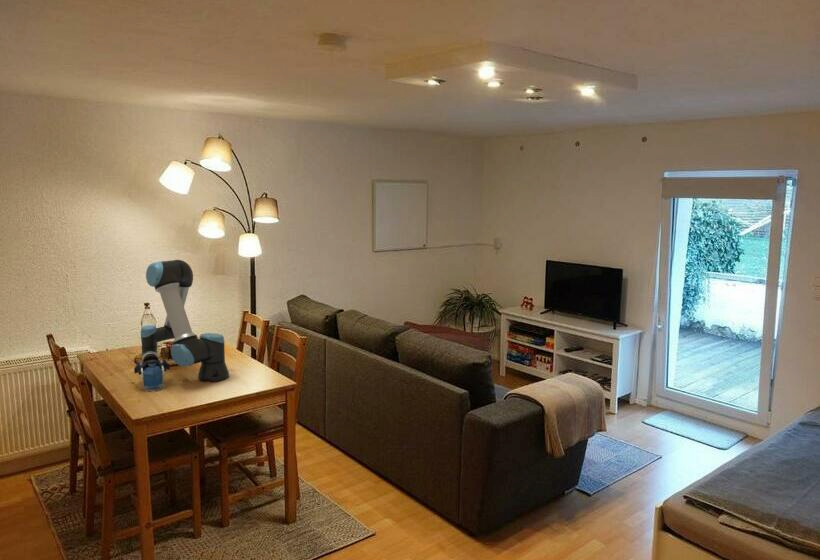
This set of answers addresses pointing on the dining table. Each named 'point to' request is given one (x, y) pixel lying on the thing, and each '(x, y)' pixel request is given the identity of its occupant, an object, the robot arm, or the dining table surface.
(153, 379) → the perfume bottle
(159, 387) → the coaster
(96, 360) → the dining table surface
